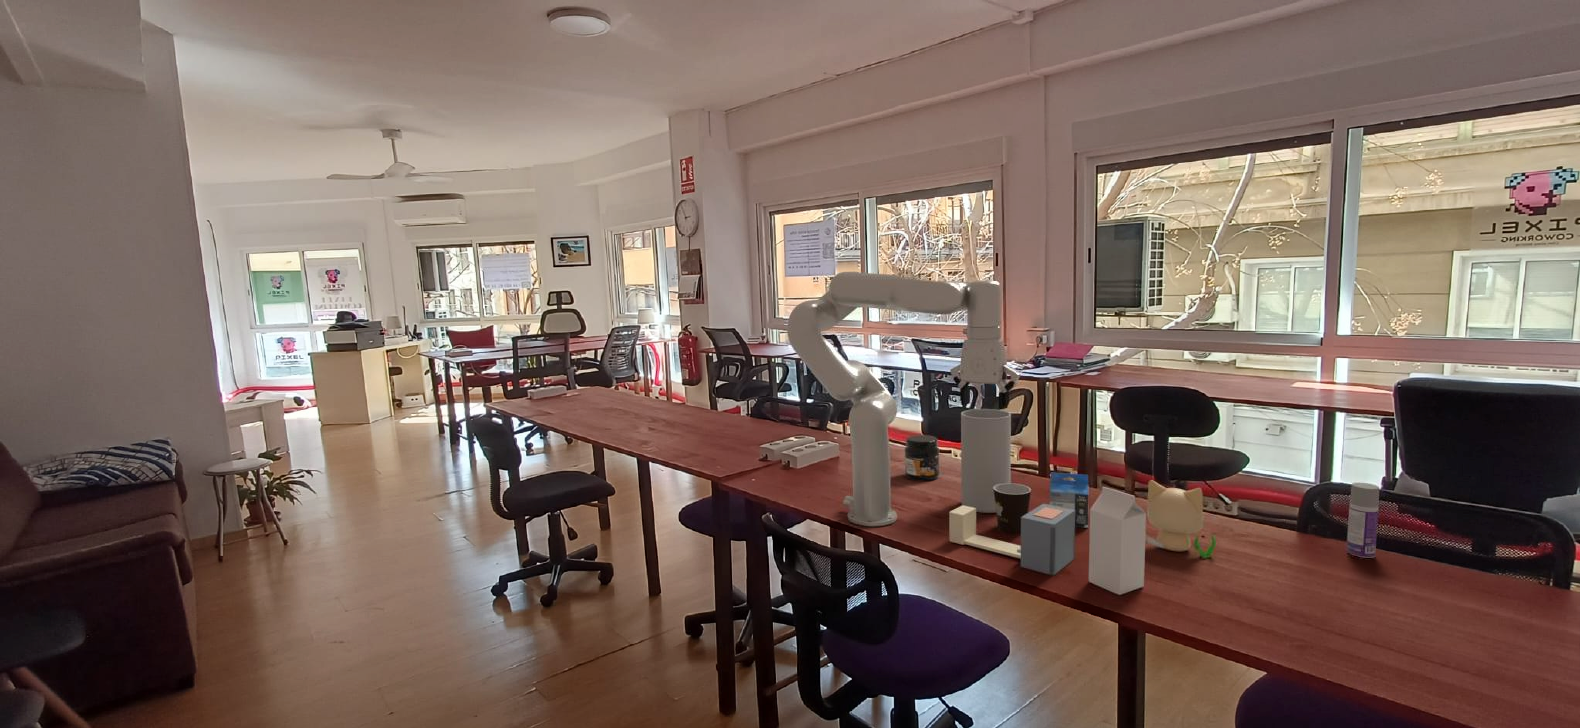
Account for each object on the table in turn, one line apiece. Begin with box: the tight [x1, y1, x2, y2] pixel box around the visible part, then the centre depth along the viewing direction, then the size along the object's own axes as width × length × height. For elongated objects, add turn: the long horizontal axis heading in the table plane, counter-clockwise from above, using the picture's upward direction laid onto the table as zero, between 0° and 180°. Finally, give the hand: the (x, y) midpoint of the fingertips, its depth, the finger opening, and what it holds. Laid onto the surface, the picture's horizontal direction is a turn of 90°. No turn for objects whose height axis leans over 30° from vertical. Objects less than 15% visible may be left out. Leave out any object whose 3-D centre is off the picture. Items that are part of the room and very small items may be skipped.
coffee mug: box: [993, 482, 1032, 535], centre depth 169 cm, size 12×9×10 cm
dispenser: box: [1017, 503, 1076, 577], centre depth 148 cm, size 8×11×11 cm
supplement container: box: [904, 434, 940, 481], centre depth 213 cm, size 10×10×12 cm
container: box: [1346, 482, 1380, 559], centre depth 146 cm, size 5×5×15 cm
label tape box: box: [1048, 472, 1090, 529], centre depth 169 cm, size 9×4×12 cm, turn 68°
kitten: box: [1145, 479, 1217, 559], centre depth 152 cm, size 15×10×15 cm
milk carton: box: [1088, 486, 1147, 596], centre depth 136 cm, size 7×7×19 cm
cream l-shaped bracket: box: [948, 505, 1021, 560], centre depth 157 cm, size 17×6×7 cm, turn 47°
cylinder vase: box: [960, 408, 1012, 514], centre depth 184 cm, size 12×12×25 cm
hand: (984, 406), depth 164 cm, fingers open, 9 cm apart
